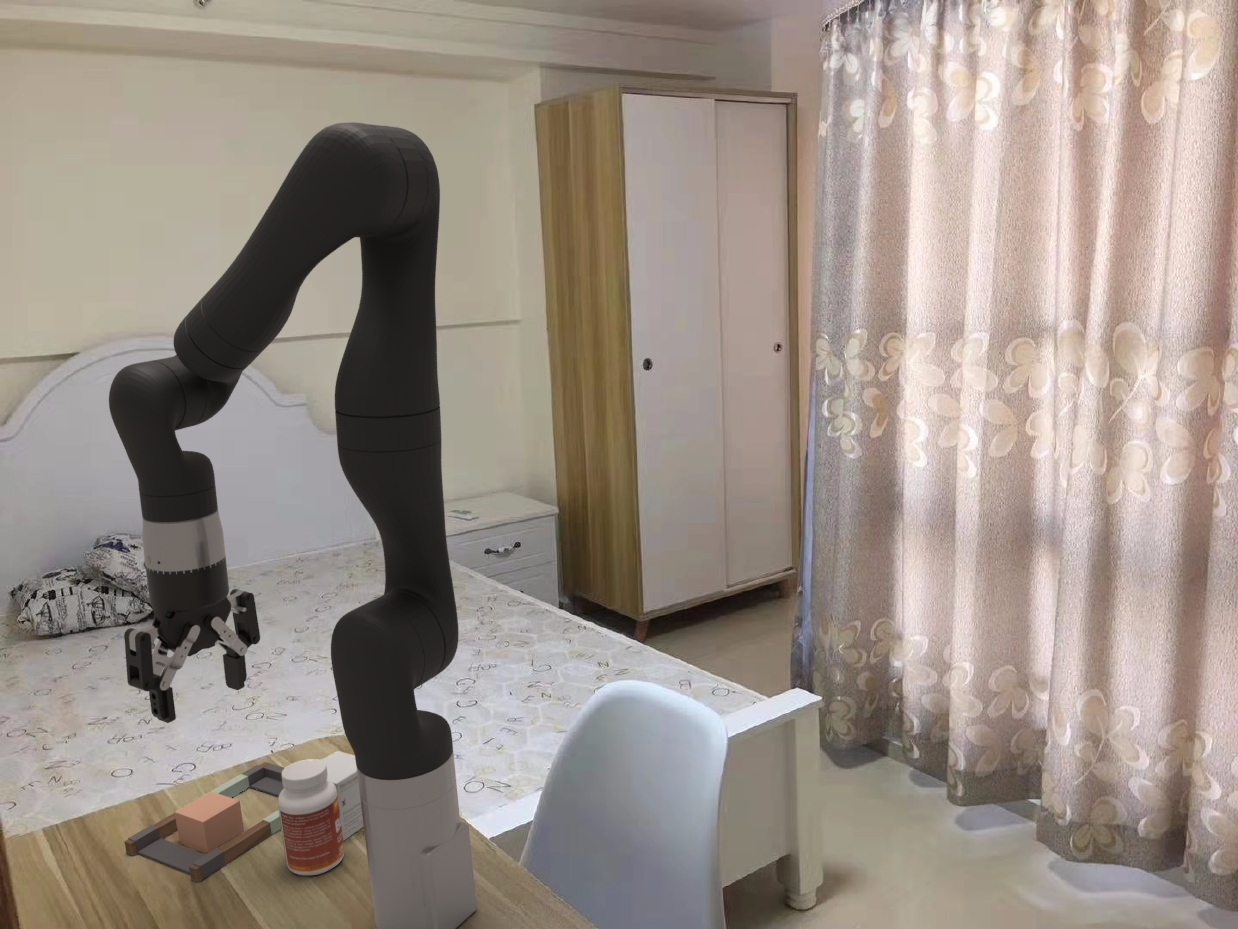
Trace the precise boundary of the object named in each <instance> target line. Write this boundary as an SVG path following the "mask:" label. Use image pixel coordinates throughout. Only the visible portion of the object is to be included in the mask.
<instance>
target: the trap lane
mask: <svg viewBox="0 0 1238 929" xmlns="http://www.w3.org/2000/svg"><path fill="white" fill-rule="evenodd" d="M284 768H285V766H280V765H277V764H274V763H271V762H268V761H263V762H261V763H260V764H258V765H257V764H256V765H254V766H252V767H251V768H249V769H247V770H246V771H244V772H242V773H240V774H238V775H236V776H235V777H233V778H231V779H229V780H228V781H226V782H224V783H222V784H221V785H219V786H217V787H216V788H214V789H212V790H210V791H208V792H207V793H209V792H211V791H212V792H215V793H218V794H221V795H224V796H227V797H230V798H232V797H233V798H235V797H237V796H238V795H240V794H241V793H240V792H242V791H243V792H245V791H247V790H248V789H249V788H248V787H251V788H250V789H252V788H254V789H253V790H255V789H257V790H256V791H258V792H261V791H262V793H265V794H267V795H271V796H275V797H277V798H278V797H279V795H280V793H281V791H282V790H283V789H284V787H283V784H282V771H283V769H284ZM247 788H248V789H247ZM246 789H247V790H246ZM244 790H245V791H244ZM243 792H242V793H243ZM207 793H204V794H203V795H201V796H200V797H202V796H204V795H206V794H207ZM239 793H240V794H239ZM236 795H237V796H236ZM280 830H282V829H281V822H280V814H279V808H278V809H277V810H275V811H274V812H272V813H270V814H269V815H267V816H266V817H264V818H263V819H262V820H261V821H260V822H258V823H256V824H255V825H253V826H252V827H250V828H248V829H246V830H244V831H243V832H242V833H240V834H239V835H237V836H235V837H234V838H232V839H231V840H229V841H227V842H226V843H224V844H222V845H221V846H219V847H218V848H216V849H214V850H213V851H211V852H210V853H206V854H205V853H201V852H199V851H197V850H195V849H194V850H193V849H190V848H188V847H186V846H183V845H180V844H178V843H175V842H172V841H170V840H167V839H164V838H166V837H167V836H170V835H171V834H172V833H174V832H176V831H178V830H177V824H176V818H175V812H173V813H172V814H170V815H168V816H166V817H165V818H162V819H161V820H160V821H157V822H156V823H154V824H150V825H149V826H147V827H145V828H143V829H141V830H140V831H138V832H136V833H134V834H133V835H131V836H129V837H128V838H127V839H126V840H124V846H125V854H128V855H130V856H132V857H134V856H136V855H137V854H138V855H139V856H142V857H145V858H147V859H149V860H152V861H154V862H157V863H160V864H162V865H164V866H166V867H170V868H172V869H175V870H178V871H180V872H182V873H184V874H187V875H189V876H190V880H192V881H195V882H197V883H199V882H201V881H203V880H204V879H206V878H207V877H209V876H211V875H212V874H213V873H215V872H217V871H218V870H220V869H221V868H223V867H224V866H226V865H227V864H228V863H230V862H231V861H233V860H235V859H236V858H238V857H239V856H241V855H243V854H244V853H245V852H247V851H249V850H250V849H251V848H254V847H255V846H256V845H257V844H259V843H261V842H262V841H264V840H266V839H267V838H269V837H270V836H272V835H274V834H276V833H277V832H279V831H280Z"/></svg>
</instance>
